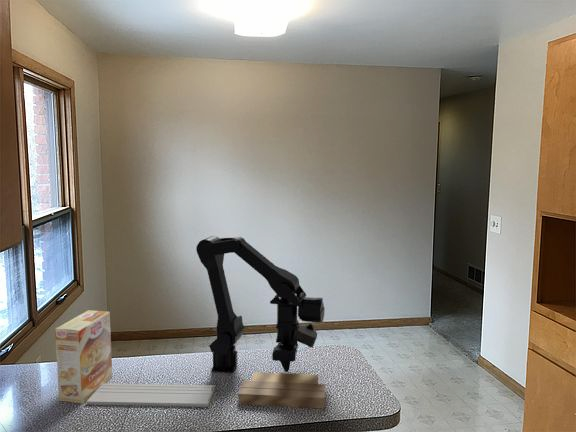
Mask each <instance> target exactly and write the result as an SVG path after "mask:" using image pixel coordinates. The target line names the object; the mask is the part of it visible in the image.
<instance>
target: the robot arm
mask: <svg viewBox="0 0 576 432" xmlns="http://www.w3.org/2000/svg"><path fill="white" fill-rule="evenodd" d="M195 249H196V253H197V256H198V259H199V260H200V263H201V264H202V266H204V268H205V269H206V271H207V276H208V280H209V283H210V284H209V285H210V288H211V292H212V293H211V294H212V296H213V300H214V305H215V309H216V314H217V322H216V329H215V330H216V339H214V341H212V342H211V343H210V344H209V345H208V347H209V349H210V352H211V353H212V367H211V369H210V370H211V372H219V373H221V372H222V373H223V372H224V373H233V372H234V370H235V369H236V368H237V366H238V363H239V362H238V351H237V350H236V345H235V344H237V342H238V341H239V340H240V339H241V337H242V336H243V334H244V329H245V328H246V327H245V325H244V323H243V315H236V313H235V312H234V309H233V305H232V304H233V303H232V300H231V295H230V292H229V287H228V283H227V279H226V273H225V270H224V259H225V254H231V253H234V254H235V255H236V256H238V257H239V258H240V259H241V260H243V261H244V262H245V263H246V264H247V265H249V266H250V267H251V268H252V269H253V270H254V271H256V272H257V273H258V274H260V275H261V277H263V278H264V279H265V280H266V281H267V283H268V285H269V288H271V289H272V290H273V292H274V293H275V295H274V297H273V298H272V299H271V300H269V303H270V304H271V305H276V307H277V309H276V311H277V313H276V316H277V317H276V326H275V328H276V339H275V344H277V345H276V346H274V347H273V349H272V355H271V356H272V358H271V359H272V361H275V362H279V363H280V364H281V366H282V369H283V371H284V373H285V372H286V373H289V371H290V366H291V362H296V357H297V353H298V348H299V343H300V344H302V345H305V346H307V347H308V348H314V346H315V343H316V340H317V339H318V338H317V337H318V332H317V330H315V329H314V324H312V323H318V324H322V323H323V322H324V318H325V306H324V298H323V297H308V296H307V292H305V291H304V289H303V288H302V286H301V285H300V280H299V278H298V276H297V275H296V274H293V273H292V272H290V271H289V270H286V269H284V268H281V267H279V266H277V265H275V264H274V263H273V262H271V261H270V260H269V259H268V258H267V257H266V256H265V255H263V254H262V253H261V252H259V251H258V250H257V249H256V248H255V247H253V246H252V245H251V244H250V243H248V242H247V241H246V240H245V238H243V237H242V236H235V237H218V236H216V235H212V236H208V237H206V238H204V239H202V240H200V241H199V242H198V243H197V245H196V248H195ZM298 319H299V320H301V322H307V324H306V325H303V326H302V325H300V322H299V320H298ZM309 322H310V323H309ZM298 342H299V343H298Z"/></svg>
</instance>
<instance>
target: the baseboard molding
mask: <svg viewBox="0 0 576 432" xmlns="http://www.w3.org/2000/svg"><path fill="white" fill-rule="evenodd" d="M214 383H215V384H214V385H211V384H210V385H209V384H165V383H163V384H162V383H161V384H159V383H156V384H155V383H154V384H153V383H108V382H106V383H104V384H101V385H100V387H99V388H98V389H97V390H96V391H95V393H94V394H93V395H92V396H90V397H89V398H88V399H87V400H86V405H88V406H89V405H91V406H92V405H95V406H96V405H97V406H98V405H99V406H100V405H102V406H137V407H138V406H141V407H144V406H146V407H147V406H148V407H149V406H150V407H152V406H153V407H188V408H189V407H193V408H194V407H197V408H206V407H207V408H209V406H210V403H211V401H212V398H213V396H214V393H215V390H216V388H215V387H217V386H218V385H217V384H218V383H217V380H215V382H214Z"/></svg>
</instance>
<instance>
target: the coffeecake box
mask: <svg viewBox="0 0 576 432" xmlns="http://www.w3.org/2000/svg"><path fill="white" fill-rule="evenodd" d="M110 312H111V311H108V310H106V311H105V310H92V309H90V310H89V309H88V310H86V311H84V312H83V313H81V314H79V315H77V316H75V317H74V318H72V319H70V320H69V321H67V322H65V323H63V324H61V325H60V326H58V327H56V328H54V332H55V334H54V335H55V352H56V365H57V368H56V369H57V370H56V371H57V388H58V401H59V402H68V403H75V404H84V403H85V402H87V400H88V399H89V398H90V397H91V396H92V395H93V394H94V393H95V391H96V390H97V389H98V388H99V387H100V385H101V384H104V383H108V381H109V380H111V378H113V363H112V362H113V361H112V359H113V358H112V340H111V339H112V337H111V336H112V335H111V313H110Z"/></svg>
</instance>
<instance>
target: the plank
mask: <svg viewBox="0 0 576 432" xmlns="http://www.w3.org/2000/svg"><path fill="white" fill-rule="evenodd" d="M250 381H264V382H286V383H307V384H319V375H318V374H307V373H306V374H301V373H285V372H284V373H282V372H281V373H280V372H260V371H258V372H257V371H255V372H253V375H252V378H251V380H250Z"/></svg>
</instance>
